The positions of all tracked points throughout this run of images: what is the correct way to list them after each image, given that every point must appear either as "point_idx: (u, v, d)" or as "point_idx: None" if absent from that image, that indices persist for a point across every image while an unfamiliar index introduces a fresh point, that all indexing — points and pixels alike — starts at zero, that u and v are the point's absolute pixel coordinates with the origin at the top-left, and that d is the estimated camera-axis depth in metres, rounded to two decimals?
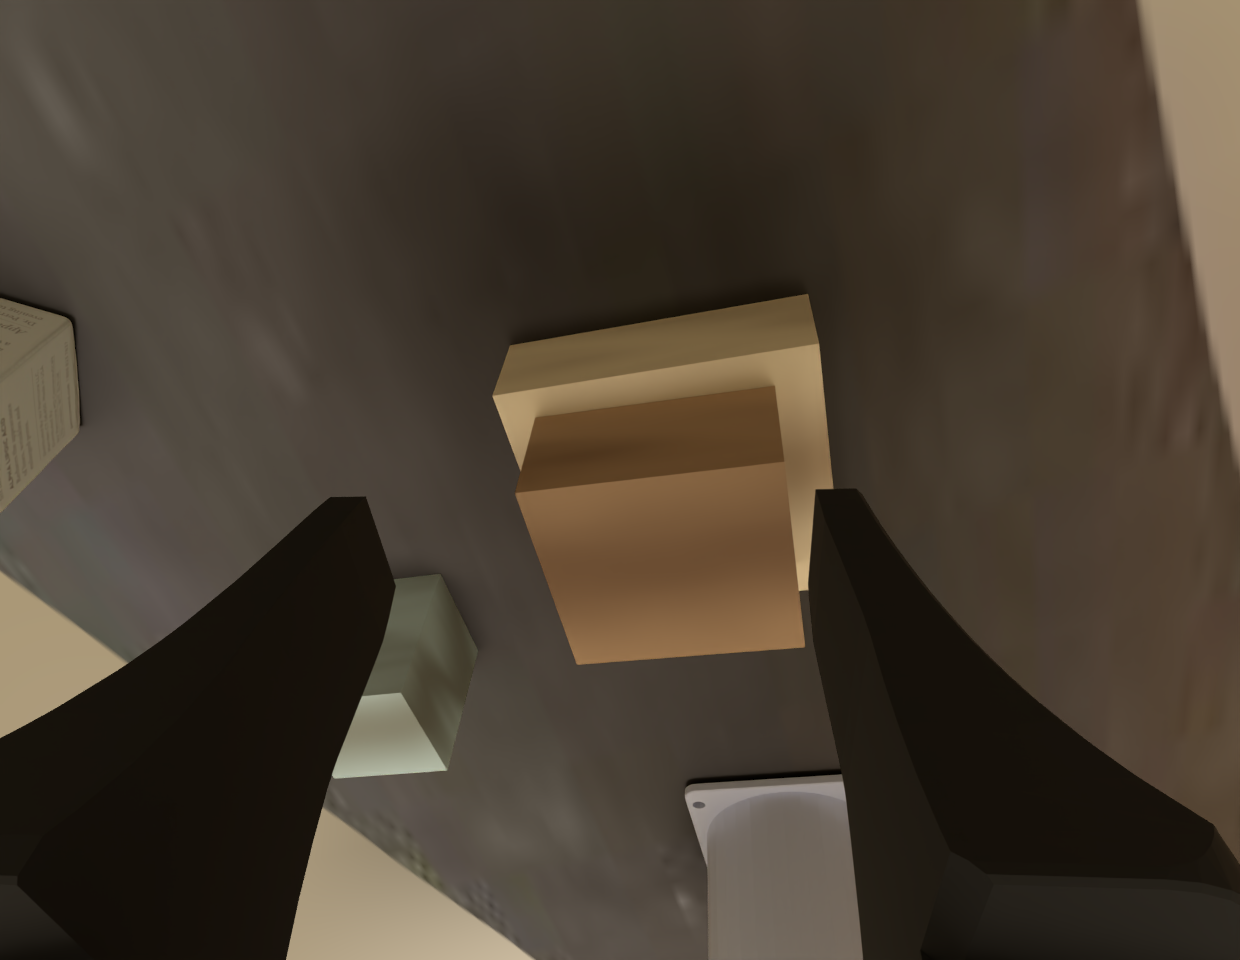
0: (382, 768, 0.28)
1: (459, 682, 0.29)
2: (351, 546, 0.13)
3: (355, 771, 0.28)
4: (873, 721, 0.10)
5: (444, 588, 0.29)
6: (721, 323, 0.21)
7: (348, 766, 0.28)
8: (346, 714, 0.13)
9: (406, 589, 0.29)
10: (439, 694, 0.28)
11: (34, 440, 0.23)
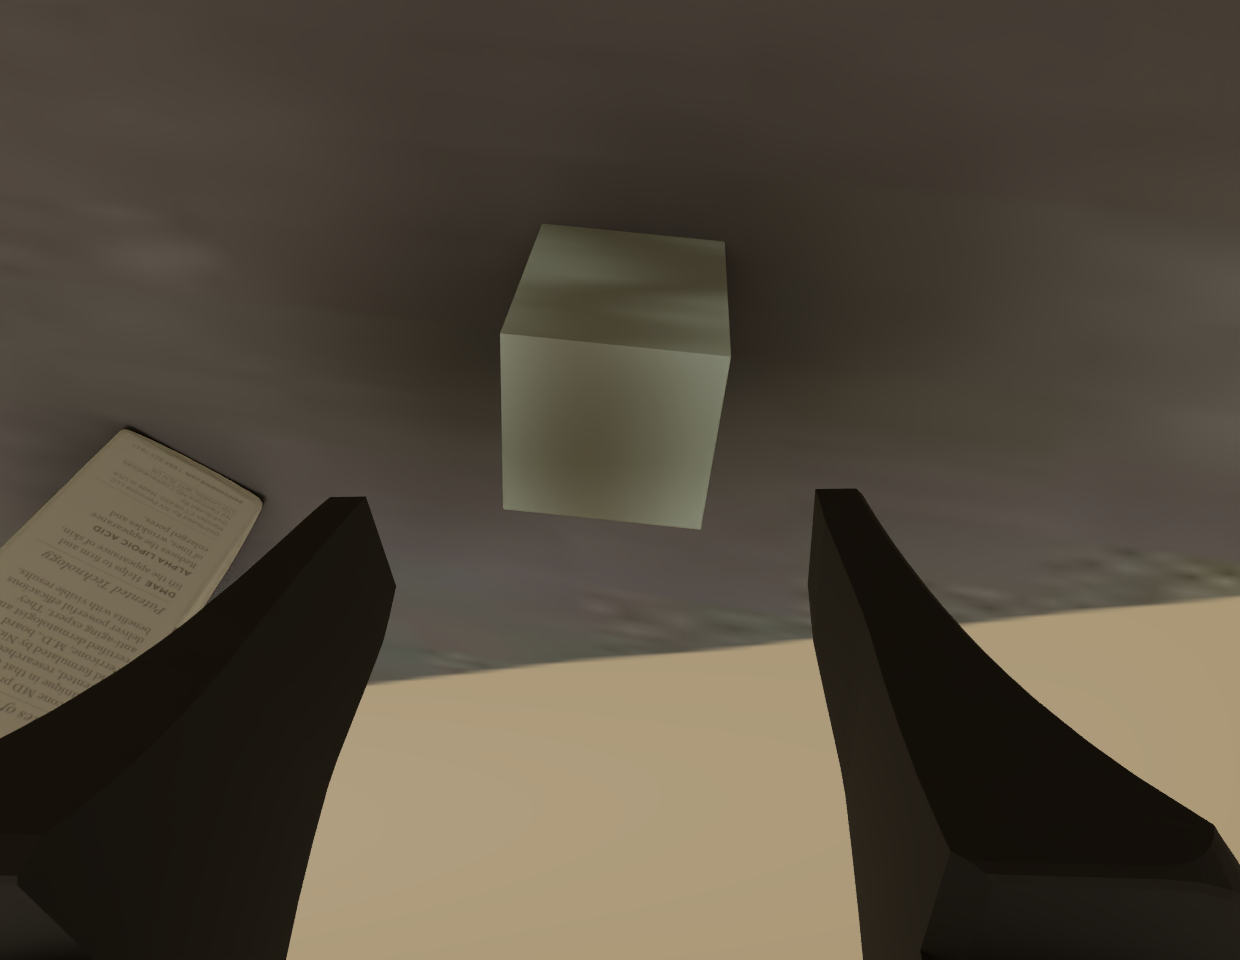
0: (694, 453, 0.16)
1: (690, 278, 0.17)
2: (351, 546, 0.13)
3: (690, 493, 0.17)
4: (873, 721, 0.10)
5: (564, 229, 0.18)
6: None
7: (675, 496, 0.17)
8: (346, 714, 0.13)
9: None
10: (632, 303, 0.16)
11: (180, 529, 0.22)
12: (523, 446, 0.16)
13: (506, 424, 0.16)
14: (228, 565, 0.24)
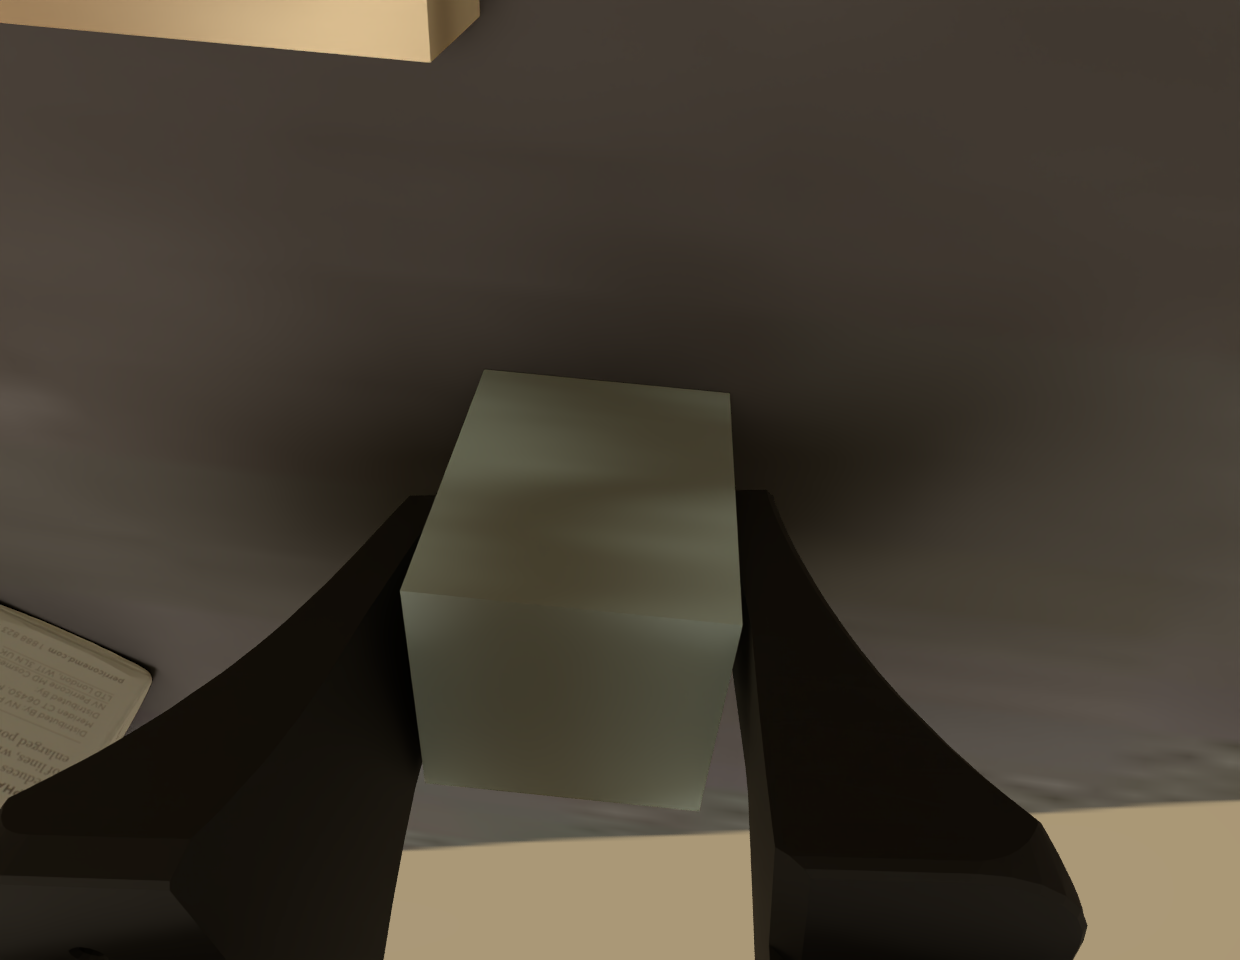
0: (689, 731, 0.11)
1: (682, 466, 0.12)
2: None
3: (684, 774, 0.12)
4: (753, 720, 0.10)
5: (513, 379, 0.14)
6: None
7: (662, 777, 0.12)
8: None
9: None
10: (600, 517, 0.11)
11: (33, 732, 0.17)
12: (446, 717, 0.11)
13: (420, 693, 0.11)
14: None
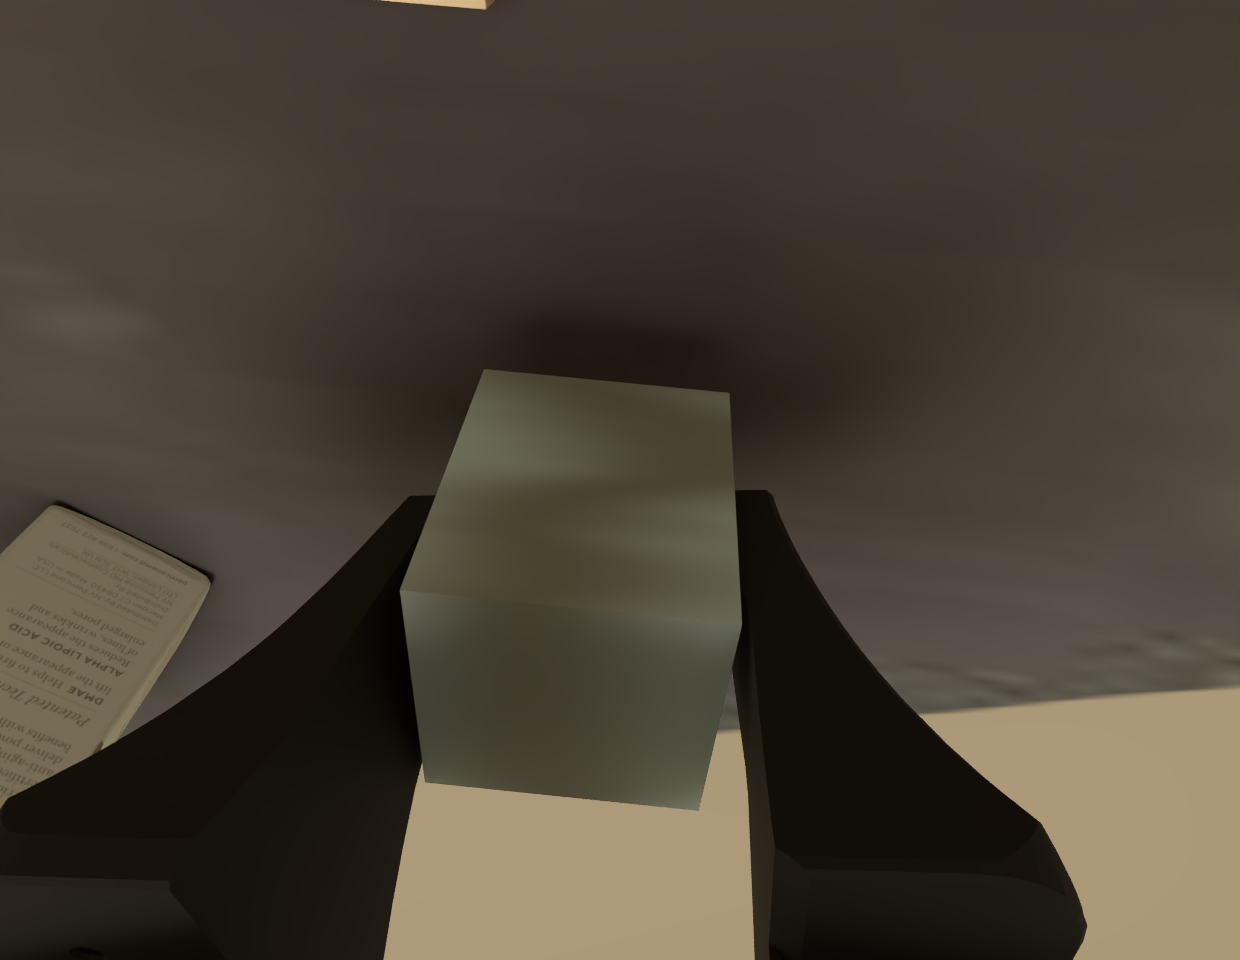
0: (689, 731, 0.11)
1: (682, 465, 0.12)
2: None
3: (684, 773, 0.12)
4: (754, 720, 0.10)
5: (513, 379, 0.14)
6: None
7: (662, 776, 0.12)
8: None
9: None
10: (600, 517, 0.11)
11: (113, 620, 0.19)
12: (446, 717, 0.11)
13: (420, 692, 0.11)
14: (173, 651, 0.22)
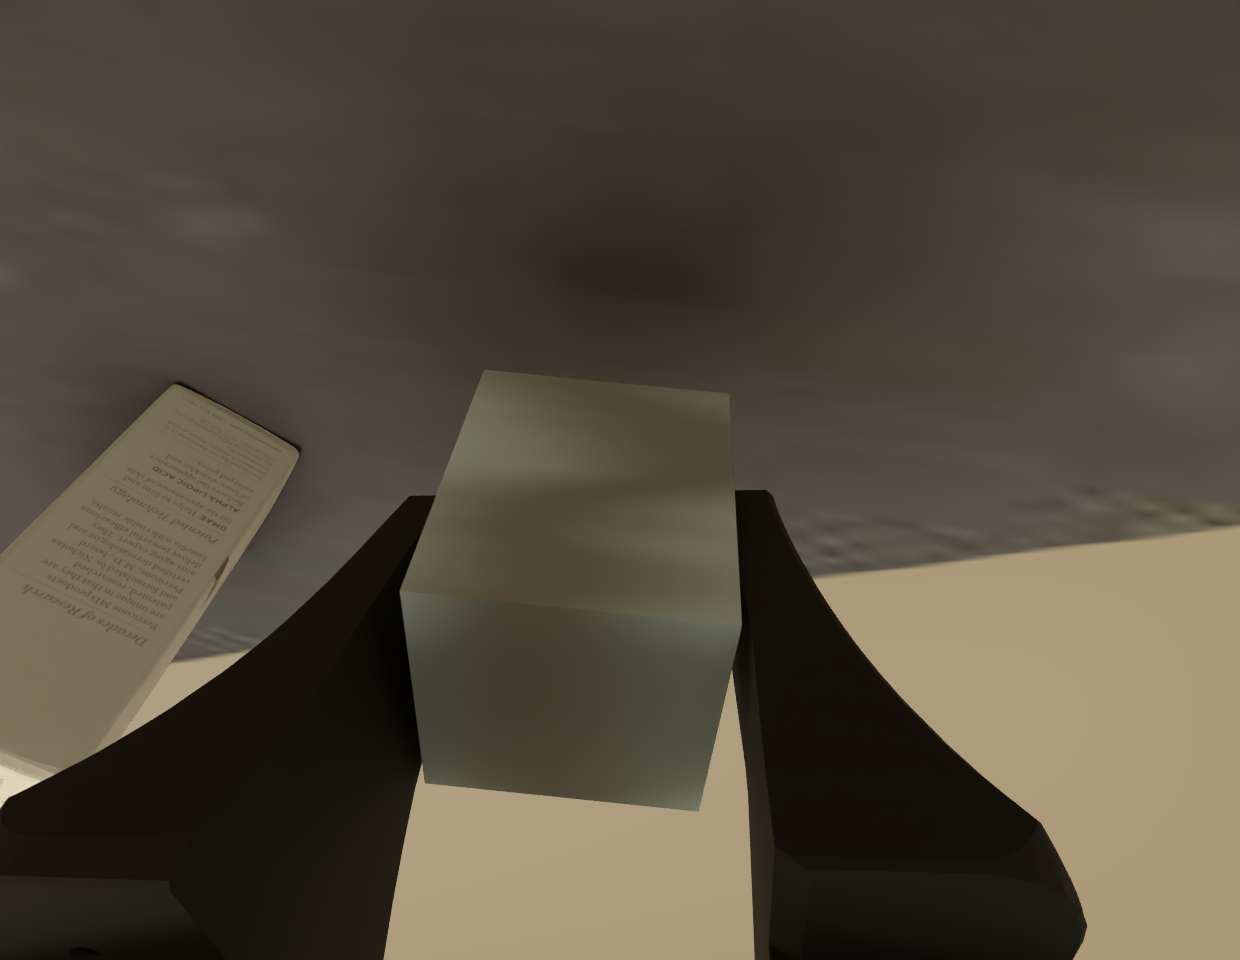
0: (689, 731, 0.11)
1: (682, 466, 0.12)
2: None
3: (684, 774, 0.12)
4: (753, 720, 0.10)
5: (512, 380, 0.14)
6: None
7: (662, 777, 0.12)
8: None
9: None
10: (600, 518, 0.11)
11: (228, 472, 0.24)
12: (446, 718, 0.11)
13: (420, 693, 0.11)
14: (268, 511, 0.26)
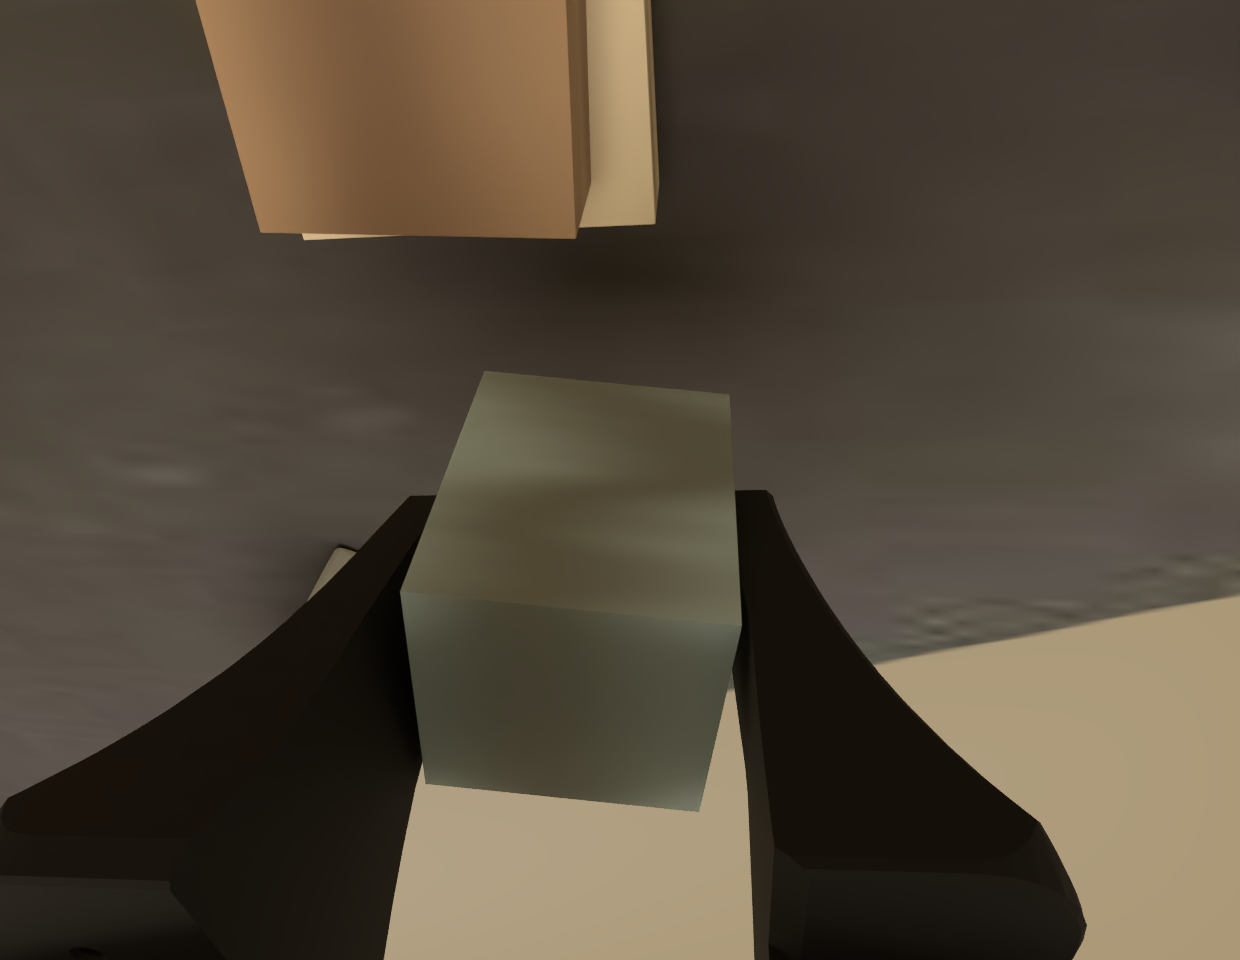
0: (689, 732, 0.11)
1: (682, 466, 0.12)
2: None
3: (684, 775, 0.12)
4: (753, 720, 0.10)
5: (513, 380, 0.14)
6: None
7: (662, 777, 0.12)
8: None
9: None
10: (600, 518, 0.11)
11: None
12: (446, 718, 0.11)
13: (420, 694, 0.11)
14: None
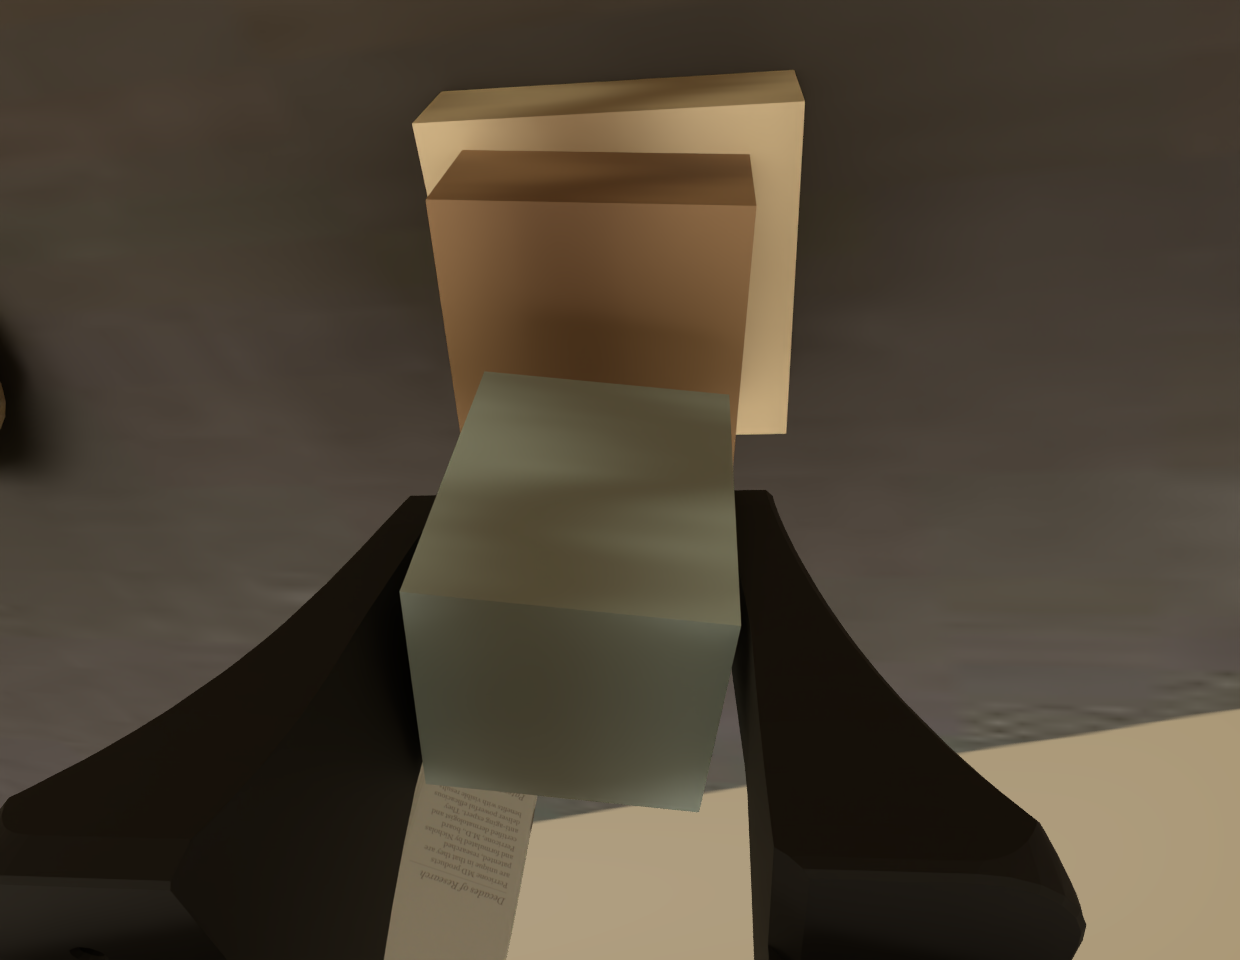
0: (689, 732, 0.11)
1: (682, 467, 0.12)
2: None
3: (684, 775, 0.12)
4: (753, 720, 0.10)
5: (513, 381, 0.14)
6: None
7: (662, 777, 0.12)
8: None
9: None
10: (600, 518, 0.11)
11: None
12: (446, 718, 0.11)
13: (420, 694, 0.11)
14: None
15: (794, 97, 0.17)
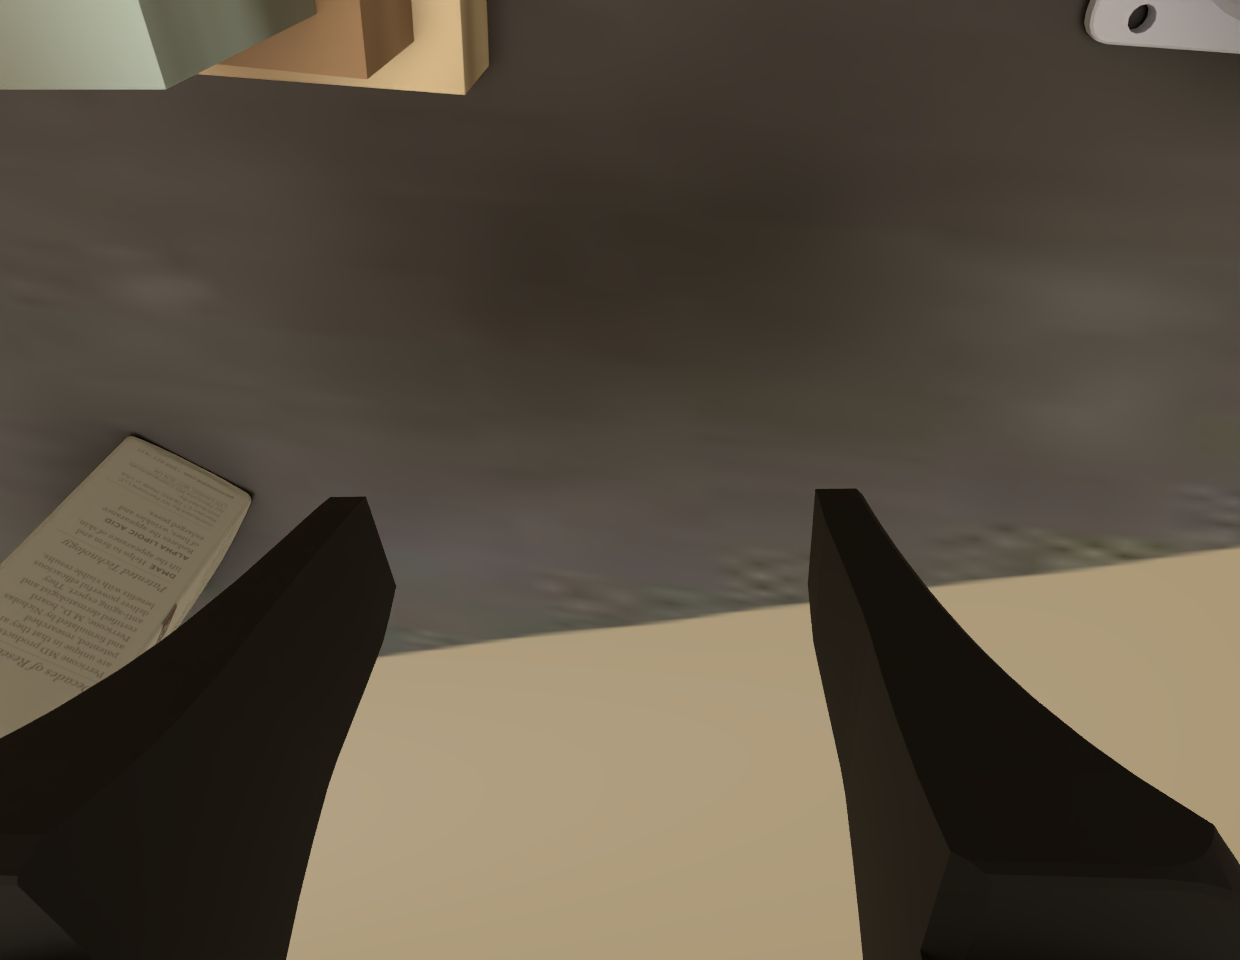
0: None
1: None
2: (351, 546, 0.13)
3: (110, 0, 0.09)
4: (873, 721, 0.10)
5: None
6: None
7: (88, 13, 0.09)
8: (346, 714, 0.13)
9: None
10: None
11: (179, 520, 0.25)
12: None
13: None
14: (222, 553, 0.28)
15: None
